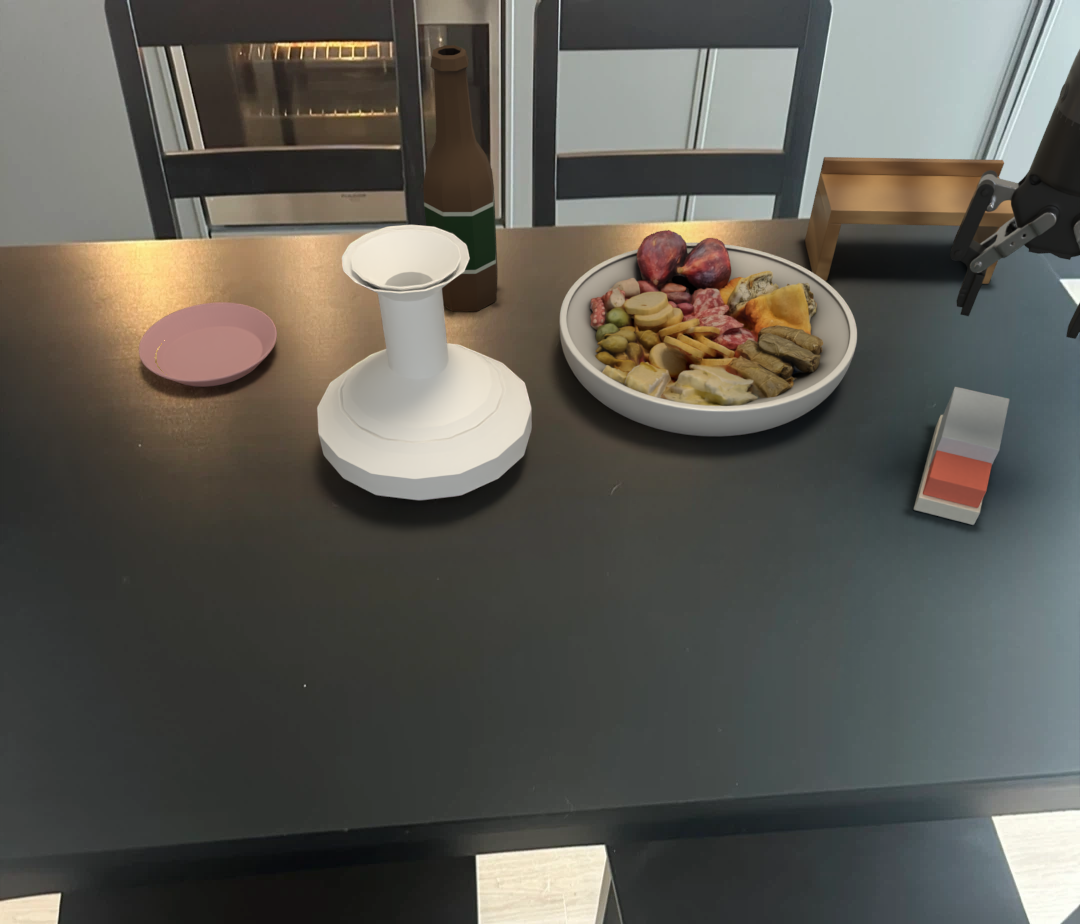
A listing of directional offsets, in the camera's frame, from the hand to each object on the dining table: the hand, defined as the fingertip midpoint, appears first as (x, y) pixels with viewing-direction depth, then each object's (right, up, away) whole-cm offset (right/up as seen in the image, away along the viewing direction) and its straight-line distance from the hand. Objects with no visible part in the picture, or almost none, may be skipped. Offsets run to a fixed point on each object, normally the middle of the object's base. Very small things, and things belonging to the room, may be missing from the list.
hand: (1017, 321), depth 78 cm
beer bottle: (-48, +15, +29) cm, 58 cm away
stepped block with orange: (-1, -10, +10) cm, 14 cm away
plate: (-75, +6, +22) cm, 78 cm away
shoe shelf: (+2, +21, +32) cm, 38 cm away
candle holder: (-51, -8, +13) cm, 53 cm away
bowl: (-23, +5, +21) cm, 31 cm away
